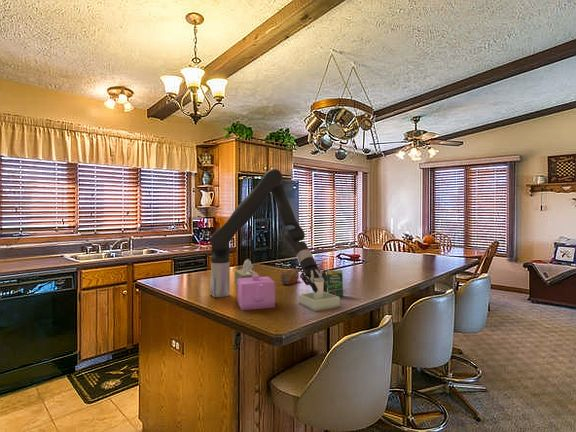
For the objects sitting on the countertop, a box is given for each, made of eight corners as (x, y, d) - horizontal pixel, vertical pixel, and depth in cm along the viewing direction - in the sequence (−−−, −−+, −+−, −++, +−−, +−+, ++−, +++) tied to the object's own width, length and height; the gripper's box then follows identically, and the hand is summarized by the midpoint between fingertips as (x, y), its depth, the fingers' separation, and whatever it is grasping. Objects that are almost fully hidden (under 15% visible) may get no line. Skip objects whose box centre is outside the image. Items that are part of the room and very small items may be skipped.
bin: (314, 311, 151) (314, 301, 151) (298, 303, 162) (298, 294, 162) (339, 306, 157) (339, 297, 157) (322, 300, 169) (322, 290, 169)
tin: (284, 285, 202) (284, 271, 202) (279, 284, 204) (279, 270, 204) (298, 281, 214) (298, 267, 214) (294, 280, 216) (294, 267, 216)
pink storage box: (244, 315, 146) (244, 281, 146) (236, 300, 170) (236, 271, 170) (279, 312, 150) (278, 279, 150) (266, 298, 174) (266, 270, 174)
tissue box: (259, 288, 195) (259, 260, 195) (242, 290, 192) (242, 261, 191) (250, 282, 213) (250, 256, 212) (234, 283, 209) (234, 257, 209)
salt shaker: (317, 301, 157) (317, 279, 157) (311, 299, 161) (311, 277, 161) (325, 300, 159) (325, 278, 159) (319, 298, 163) (319, 277, 163)
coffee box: (327, 296, 176) (327, 271, 175) (326, 295, 178) (326, 270, 178) (343, 296, 176) (343, 271, 175) (342, 295, 178) (342, 270, 178)
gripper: (296, 257, 162) (311, 288, 152) (321, 255, 170) (337, 284, 159) (291, 267, 167) (304, 297, 157) (315, 264, 174) (330, 293, 164)
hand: (321, 290), depth 158 cm, fingers closed on salt shaker, 4 cm apart
